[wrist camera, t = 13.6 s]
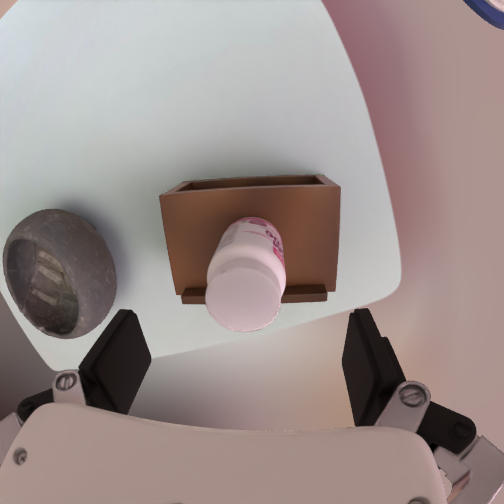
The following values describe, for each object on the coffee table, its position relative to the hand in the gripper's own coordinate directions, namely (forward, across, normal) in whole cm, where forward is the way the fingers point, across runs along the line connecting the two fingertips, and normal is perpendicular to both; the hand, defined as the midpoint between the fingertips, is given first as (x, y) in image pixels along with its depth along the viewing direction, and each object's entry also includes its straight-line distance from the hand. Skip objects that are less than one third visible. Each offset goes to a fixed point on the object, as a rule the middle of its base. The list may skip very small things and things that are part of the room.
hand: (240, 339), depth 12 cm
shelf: (+19, 0, 0) cm, 19 cm away
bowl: (+18, +22, +4) cm, 29 cm away
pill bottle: (+12, 0, 0) cm, 12 cm away
